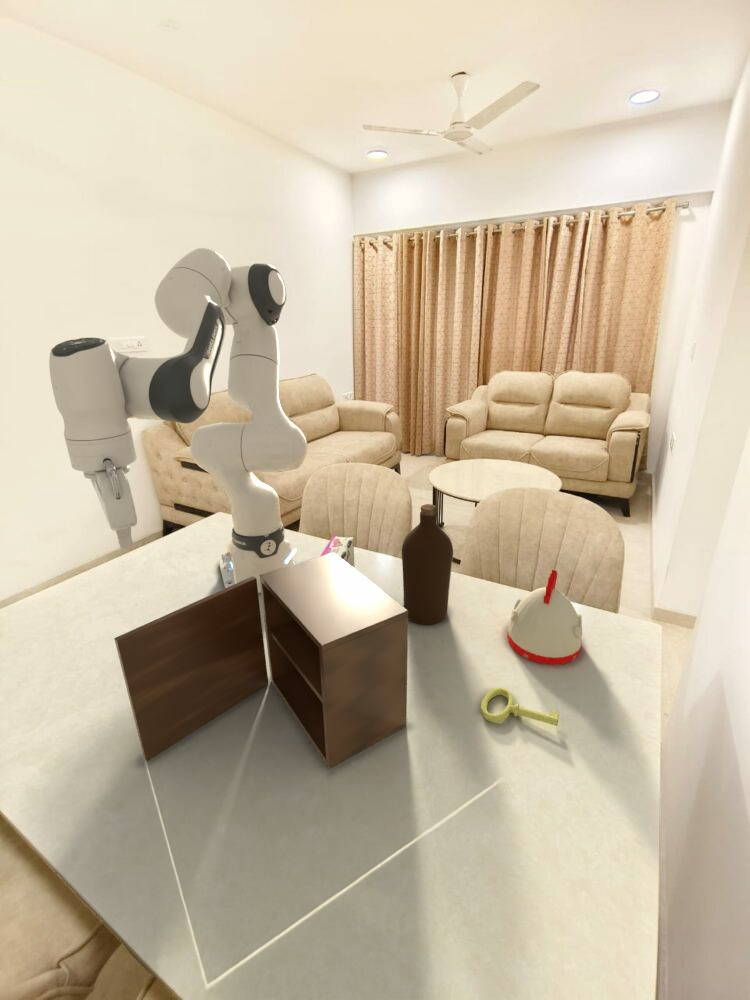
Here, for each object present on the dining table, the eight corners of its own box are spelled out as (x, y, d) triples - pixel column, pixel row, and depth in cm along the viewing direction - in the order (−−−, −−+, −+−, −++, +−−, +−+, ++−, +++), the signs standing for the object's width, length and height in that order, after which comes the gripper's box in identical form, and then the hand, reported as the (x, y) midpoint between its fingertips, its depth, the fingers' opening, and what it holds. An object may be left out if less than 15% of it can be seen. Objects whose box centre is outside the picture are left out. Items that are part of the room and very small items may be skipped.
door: (127, 736, 79) (97, 620, 71) (247, 666, 94) (233, 564, 86) (146, 761, 74) (117, 641, 66) (268, 683, 89) (256, 577, 81)
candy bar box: (335, 599, 115) (332, 534, 108) (356, 601, 114) (354, 536, 108) (321, 628, 104) (316, 559, 98) (344, 631, 103) (341, 561, 97)
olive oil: (411, 631, 103) (413, 520, 94) (394, 603, 113) (394, 500, 103) (458, 621, 106) (464, 513, 97) (437, 595, 116) (441, 494, 106)
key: (560, 733, 78) (562, 722, 78) (480, 721, 81) (481, 711, 80) (554, 699, 85) (556, 689, 84) (480, 690, 87) (481, 680, 87)
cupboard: (329, 769, 73) (321, 645, 65) (270, 681, 90) (259, 574, 82) (406, 727, 80) (408, 610, 72) (338, 652, 97) (333, 552, 89)
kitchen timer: (585, 632, 102) (596, 568, 97) (574, 673, 91) (586, 603, 85) (516, 614, 108) (523, 552, 103) (499, 650, 97) (505, 583, 92)
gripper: (137, 465, 69) (155, 554, 74) (116, 435, 85) (131, 510, 90) (86, 474, 66) (108, 566, 71) (73, 441, 82) (92, 518, 87)
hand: (121, 534), depth 81 cm, fingers open, 8 cm apart
